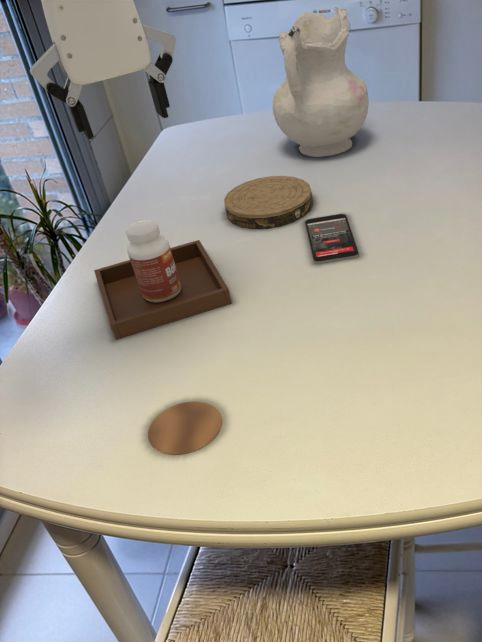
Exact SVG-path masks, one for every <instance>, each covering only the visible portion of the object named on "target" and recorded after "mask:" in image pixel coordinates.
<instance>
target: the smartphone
mask: <svg viewBox="0 0 482 642" xmlns="http://www.w3.org/2000/svg"><path fill="white" fill-rule="evenodd" d="M304 226H305V230H306V234H307V239H308V244H309V249H310V252H311V256H312V261H313V262H312V263H313V264H314V265H324V264H330V263H335V262H336V263H337V262H342V261H347V260H348V261H349V260H354V259H358V258H359V257H360V252H359V249H358V246H357V243H356V240H355V237H354V234H353V232H352V228H351V225H350V221H349V219H348V216H347V214H345V213H338V214H331V215H324V216H319V217H313V218H307V219H305V220H304Z"/></svg>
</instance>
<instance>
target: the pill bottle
mask: <svg viewBox="0 0 482 642" xmlns="http://www.w3.org/2000/svg"><path fill="white" fill-rule="evenodd" d="M125 233H126V238H127V239H128V241H129V243H128V245H127V249H126V250H127V251H126V252H127V256H128V258H129V260H130V261H131V264H132V267H133V270H134V272H135V275H136V278H137V281H138V284H139V287H140V290H141V293H142V295H143V297H144V298H145V299H146V300H147V301H150V302H154V303H159V302H164V301H168V300H170V299H172V298H174V297H176V296H177V295H178V294H179V293H180V291H181V283H180V279H179V276H178V272H177V269H176V266H175V262H174V259H173V256H172V252H171V249H170V248H171V246H170V242H169V240H168V239H167V238H166V237H165V236H164V235H163V234H161V230H160V226H159V224H158V222H157V221H156V220H152V219H143V220H138V221H135V222H133V223H131V224H129V225H128V226H127V227H126V229H125Z"/></svg>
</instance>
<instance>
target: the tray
mask: <svg viewBox="0 0 482 642" xmlns="http://www.w3.org/2000/svg"><path fill="white" fill-rule="evenodd" d="M170 249H171V252H172V256H173V259H174V262H175V266H176V269H177V272H178V276H179V279H180V283H181V291H180V293H179V294H178V295H177V296H176V297H174V298H172V299H170V300H168V301H164V302H159V303H154V302H150V301H147V300H146V299H145V298H144V297H143V295H142V293H141V290H140V287H139V284H138V281H137V278H136V275H135V272H134V270H133V267H132V264H131V261H130V259H128V260H125V261H121V262H117V263H114V264H111V265H107V266H104V267H100V268H96V269H94V275H95V279H96V283H97V285H98V289H99V292H100V295H101V296H100V297H101V299H102V302H103V306H104V310H105V312H106V315H107V319H108V323H109V326H110V328H111V331H112V333H113V336H114V338H115V340H116V341H117V340H120V339H123V338H127V337H130V336H133V335H137V334H139V333H143V332H146V331H148V330H152V329H155V328H158V327H161V326H164V325H165V326H166V325H168V324H171V323H175V322H177V321H178V322H179V321H180V320H184V319H186V318H187V319H188V318H191V317H193V316H196V315H197V316H198V315H200V314H202V313H206V312H210V311H213V310H215V309H219V308H221V307H225V306H229V305H231V304H233V302H232V297H231V293H230V290H229V288H228V286H227V284H226V283H225V281H224V279H223V277H222V276H221V274H220V271H218V269H217V268H216V266H215V264H214V263H213V260H212V259H211V257H210V256H209V253H208V252H207V250H206V248H205V247H204V245H203V244H202V242H201V240H200V239H197V240H195V241H194V240H193V241H190V242H187V243H183V244H179V245H176V246H173V247H170Z"/></svg>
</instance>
